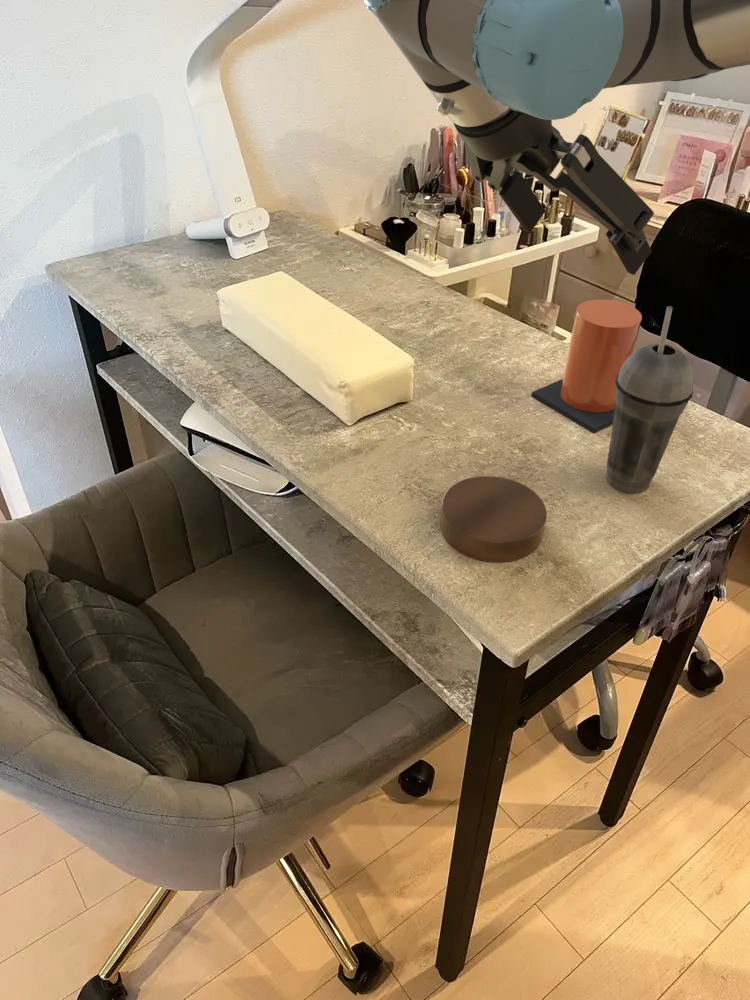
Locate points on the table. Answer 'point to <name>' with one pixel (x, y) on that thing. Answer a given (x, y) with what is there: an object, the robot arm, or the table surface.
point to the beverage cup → (647, 411)
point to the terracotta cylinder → (598, 353)
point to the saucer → (492, 518)
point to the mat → (586, 419)
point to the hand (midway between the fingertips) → (584, 240)
